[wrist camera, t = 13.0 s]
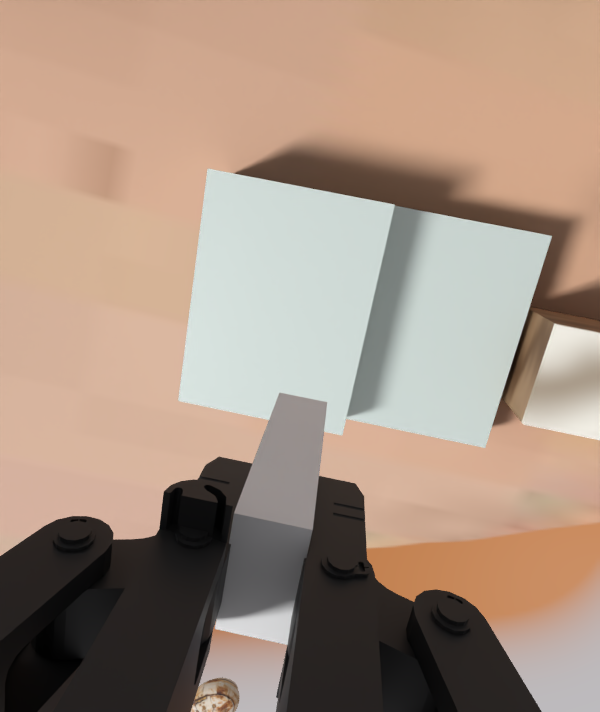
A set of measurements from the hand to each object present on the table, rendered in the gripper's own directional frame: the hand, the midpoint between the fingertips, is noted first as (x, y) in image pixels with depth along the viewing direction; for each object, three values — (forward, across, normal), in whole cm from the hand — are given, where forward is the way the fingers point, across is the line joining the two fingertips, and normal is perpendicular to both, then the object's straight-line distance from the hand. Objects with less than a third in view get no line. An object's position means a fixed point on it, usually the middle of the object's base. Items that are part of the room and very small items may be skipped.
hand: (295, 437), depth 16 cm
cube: (+19, +18, -1) cm, 26 cm away
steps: (+26, +3, 0) cm, 26 cm away
